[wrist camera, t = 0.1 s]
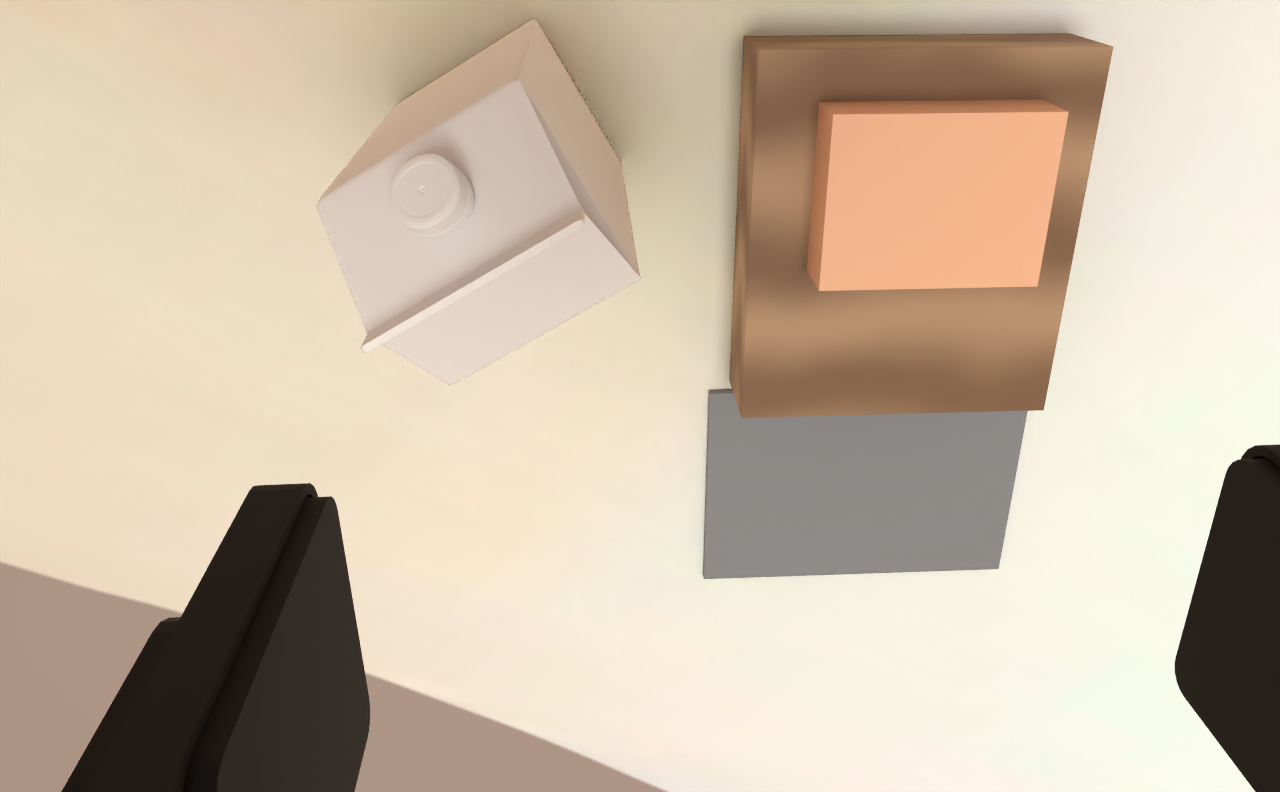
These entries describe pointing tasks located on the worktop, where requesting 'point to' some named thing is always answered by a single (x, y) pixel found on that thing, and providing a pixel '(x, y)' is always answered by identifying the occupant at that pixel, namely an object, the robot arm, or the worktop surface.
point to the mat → (856, 491)
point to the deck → (900, 318)
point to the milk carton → (481, 212)
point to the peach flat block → (932, 193)
